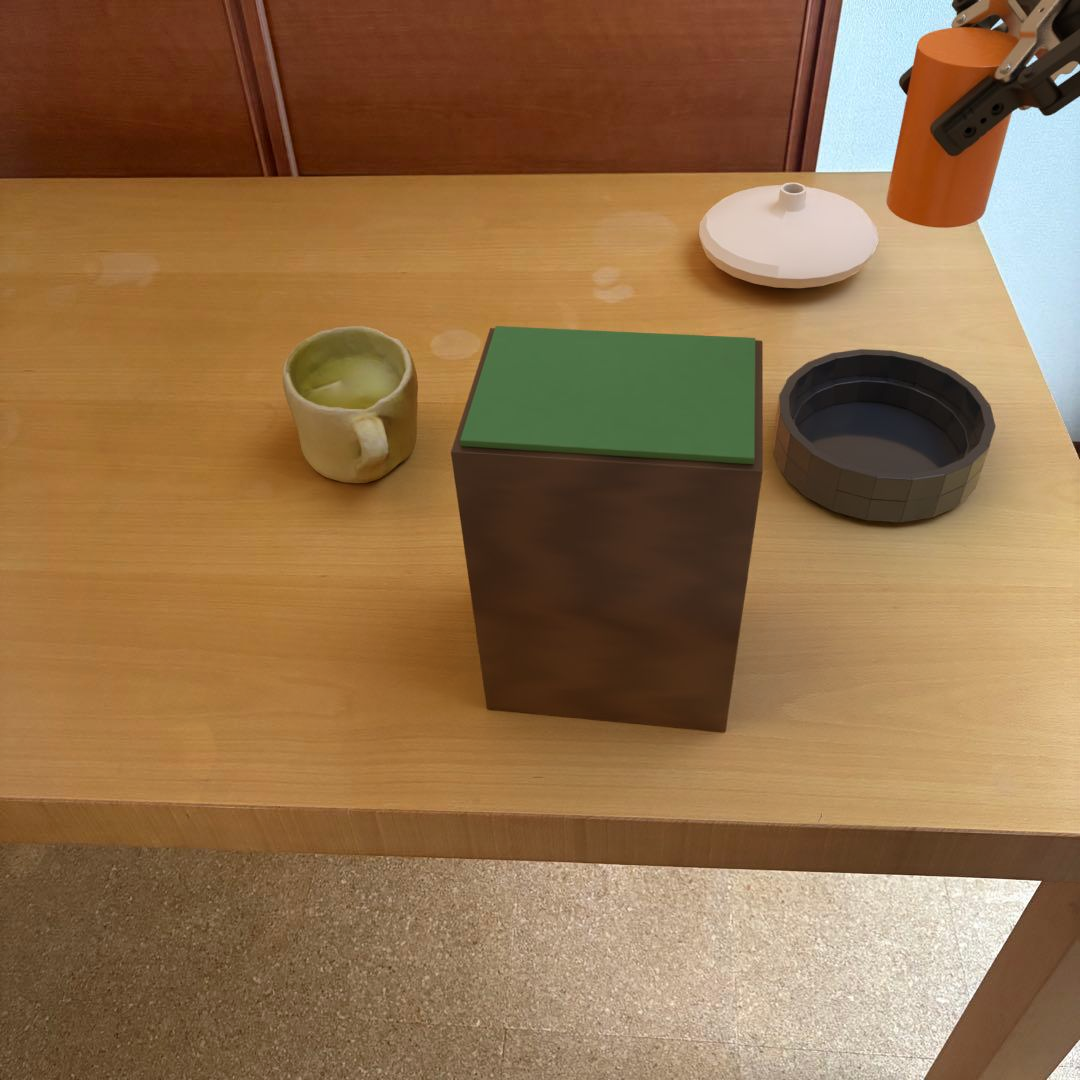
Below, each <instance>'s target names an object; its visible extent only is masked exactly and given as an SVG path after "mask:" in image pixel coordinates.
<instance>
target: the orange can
mask: <svg viewBox="0 0 1080 1080" xmlns="http://www.w3.org/2000/svg"><path fill="white" fill-rule="evenodd" d="M918 39H919V40H918V41H917V44H916V49H915V52H914V58H913V63H912V66H913V68H912V73H911V78H910V83H909V88H908V93H907V95H906V98H905V103H904V108H903V114H902V119H901V124H900V129H899V135H898V139H897V144H896V149H895V153H894V159H893V163H892V168H891V174H890V179H889V184H888V189H887V193H886V200H885V201H886V206H887V209H889V210H890V212H891V213H893V215H895V216H896V217H898V218H900V219H901V220H903V221H906V222H908V223H911V224H914V225H918V226H923V227H929V228H936V229H937V228H940V229H945V228H946V229H947V228H949V229H950V228H958V227H963V226H967V225H971V224H973V223H975V222H977V221H979V220H980V219H982V217H983V216H984V215H985V213H986V210H987V206H988V202H989V198H990V194H991V191H992V187H993V185H994V184H993V183H994V180H995V177H996V172H997V170H998V165H999V161H1000V158H1001V154H1002V151H1003V147H1004V143H1005V140H1006V137H1007V132H1008V129H1009V125H1010V121H1011V118H1012V114H1013V112H1011V113H1010V114H1009V115H1008V116H1007V117H1005V118H1004V119H1003V120H1002V121H1001V122H999V123H998V124H997V125H996V126H994V127H993V128H992V129H991V130H990V131H987V133H986V134H985V135H984V136H982V137H980V139H979V140H978V141H976V142H975V143H974V144H973V145H971V146H970V147H968V148H967V149H965V150H964V151H963V152H962V153H960V154H959V155H957V156H950V155H948V154H947V152H946V151H945V150H944V149H943V148H942V147H941V145H940V144H939V143H938V142H937V141H936V139H935V138H934V137H933V135H932V134H931V132H930V127H931V124H932V123H933V122H934V121H935V120H936V119H937V118H938V117H939V116H941V115H942V114H943V113H944V112H945V111H946V110H948V109H949V108H950V107H951V106H952V105H953V104H955V103H956V102H957V101H958V100H959V99H960V98H962V97H963V96H964V95H965V94H966V93H967V92H969V91H970V90H971V89H972V88H973V87H974V86H976V85H977V84H978V83H979V82H980V81H982V80H983V79H984V78H985V77H986V76H988V75H989V76H990V77H991V78H992V79H993V81H994V80H996V78H995V77H994V74H995V71H996V70H997V68H998V67H999V66H1000V65H1001V63H1002V62H1003V61H1004V60H1005V58H1006V57H1007V56H1008V55H1009V53H1010V52H1011V51H1012V50H1013V48H1014V47H1015V46H1016V45H1017V43H1018V42H1019V38H1017V37H1015V36H1013V35H1010V34H1007V33H1004V32H1000V31H996V30H992V28H991V29H984V28H973V27H958V28H952V27H948V28H942V29H938V30H933V31H931V32H928V33H926V34H924V35H922V36H921V37H920V38H918Z"/></svg>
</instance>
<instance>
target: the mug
mask: <svg viewBox="0 0 1080 1080" xmlns="http://www.w3.org/2000/svg"><path fill="white" fill-rule="evenodd" d="M282 386H283V391H284V396H285V398H286V403H287V405H288V407H289V410H290V412H291V416H292V419H293V421H294V424H295V427H296V431H297V434H298V439H299V445H300V449H301V452H302V454H303V456H304V458H305V460H306V461H307V463H308V464H309V465H310V467H311V468H312V469H313V470H314V471H316V472H317V473H318V474H320V475H321V476H322V477H324V478H327V479H331V480H334V481H337V482H341V483H349V484H366V483H369V482H373V481H377V480H379V479H382V478H383V477H384V476H386V475H387V474H389V473H390V472H391V471H393V470H394V469H395V468H396V467H397V466H398V465H399V464H401V463H402V462H404V461H406V460H407V459H408V458H409V456H410V455H411V454H412V452H413V451H414V448H415V445H416V443H417V435H418V394H419V382H418V374H417V370H416V366H415V362H414V359H413V357H412V355H411V352H410V350H409V349H408V348H407V346H406V345H405V344H403V342H402V341H401V340H400V339H398V338H395V337H392V336H389V335H387V334H386V333H385V332H382V331H381V330H379V329H376V328H373V327H369V326H365V325H355V326H354V325H353V326H352V325H350V326H341V327H339V326H338V327H334V328H331V329H324V330H323V329H322V330H321V331H319V332H317V333H315V334H313V335H312V336H309V337H306V338H305V339H303V340H302V341H300V342H299V343H298V344H297V345H296V346H295V347H294V348H293V350H292V351H291V352H290V353H289V355H288V356H287V358H286V361H285V363H284V366H283V369H282Z"/></svg>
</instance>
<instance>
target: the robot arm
mask: <svg viewBox="0 0 1080 1080" xmlns="http://www.w3.org/2000/svg"><path fill="white" fill-rule="evenodd" d="M951 7H952V8H953V10H954V11H955V12H956V14H955V15H956V16H955V17H954V18H953V20H952V22H951V23H950V24H951V25H950V26H951V28H958V27H973V28H984V29H991V30H996V31H1000V32H1004V33H1007V34H1010V35H1013V36H1015V37H1017V38H1019V42H1018V43H1017V45H1016V46H1015V47H1014V48H1013V50H1012V51H1011V52H1010V53H1009V55H1008V56H1007V57H1006V58H1005V60H1004V61H1003V62H1002V63H1001V65H1000V66H999V67H998V68H997V70H996V71H995V74H994V77H995V78H996V80H994V81H993V79H992V78H991V77H990V76H989V75H988V76H986V77H985V78H984V79H983V80H982V81H980V82H979V83H978V84H977V85H976V86H974V87H973V88H972V89H971V90H970V91H969V92H967V93H966V94H965V95H964V96H963V97H962V98H960V99H959V100H958V101H957V102H956V103H955V104H953V105H952V106H951V107H950V108H949V109H948V110H946V111H945V112H944V113H943V114H942V115H941V116H939V117H938V118H937V119H936V120H935V121H934V122H933V123H932V124H931V127H930V132H931V134H932V135H933V137H934V138H935V139H936V141H937V142H938V143H939V144H940V145H941V147H942V148H943V149H944V150H945V151H946V152H947V154H948V155H950V156H957V155H959V154H960V153H962V152H963V151H964V150H965V149H967V148H968V147H970V146H971V145H973V144H974V143H975V142H976V141H978V140H979V139H980V137H982V136H984V135H985V134H986V133H987V131H990V130H991V129H992V128H993V127H994V126H996V125H997V124H998V123H999V122H1001V121H1002V120H1003V119H1004V118H1005V117H1007V116H1008V115H1009V114H1010V113H1011V112H1012V113H1013V112H1014V111H1016V110H1018V109H1019V111H1026V110H1029V109H1031V108H1034V109H1038V111H1040V113H1041V114H1042V116H1045V117H1048V116H1052V115H1055V114H1056V113H1057V112H1059V111H1061V110H1062V109H1064V108H1065V107H1066V106H1068V105H1069V104H1071V103H1072V102H1074V101H1075V100H1077V99H1078V98H1080V70H1078V71H1077V72H1075V73H1074V74H1072V75H1071V76H1069V77H1068V78H1067V79H1065V80H1064V81H1062V82H1061V83H1059V84H1058V85H1057V82H1055V81H1056V80H1057V79H1058V78H1059V76H1061V75H1070V74H1071V73H1072V72H1073V71H1074V70H1075V69H1076V68H1077V67H1078V65H1079V66H1080V0H952V2H951ZM999 21H1002V23H1000V24H999V25H997V26H995V25H996V24H998V22H999ZM994 26H995V27H994ZM993 27H994V28H993ZM1034 56H1035V57H1036V60H1034V61H1033V62H1031V60H1032V59H1033V58H1034ZM1030 62H1031V63H1030ZM1029 63H1030V64H1029ZM1028 64H1029V65H1028ZM912 68H913V65H911V66H910V68H908V69H907V70H906V71H905V72H904V73H902V74H901V76H900V77H899V80H898V85H899V87H900V89H901V90H902V92H903V93H904V94H905V96H907V93H908V88H909V83H910V78H911V73H912Z"/></svg>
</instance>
